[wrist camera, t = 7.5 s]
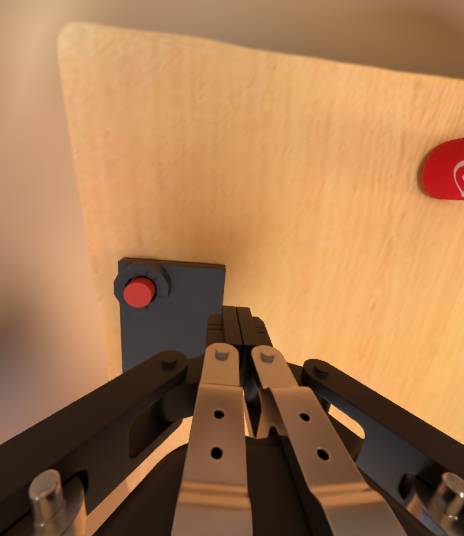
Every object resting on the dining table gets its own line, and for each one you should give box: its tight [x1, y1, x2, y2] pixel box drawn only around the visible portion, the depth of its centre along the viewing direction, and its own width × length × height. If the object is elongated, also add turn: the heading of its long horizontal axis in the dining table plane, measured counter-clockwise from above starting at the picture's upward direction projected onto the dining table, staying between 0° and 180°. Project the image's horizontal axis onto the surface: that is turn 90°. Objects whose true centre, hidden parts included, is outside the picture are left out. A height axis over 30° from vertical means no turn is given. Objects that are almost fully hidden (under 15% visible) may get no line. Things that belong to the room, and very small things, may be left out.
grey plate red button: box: [114, 258, 226, 373], centre depth 30 cm, size 18×12×4 cm, turn 174°
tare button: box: [124, 277, 155, 307], centre depth 26 cm, size 3×3×2 cm
